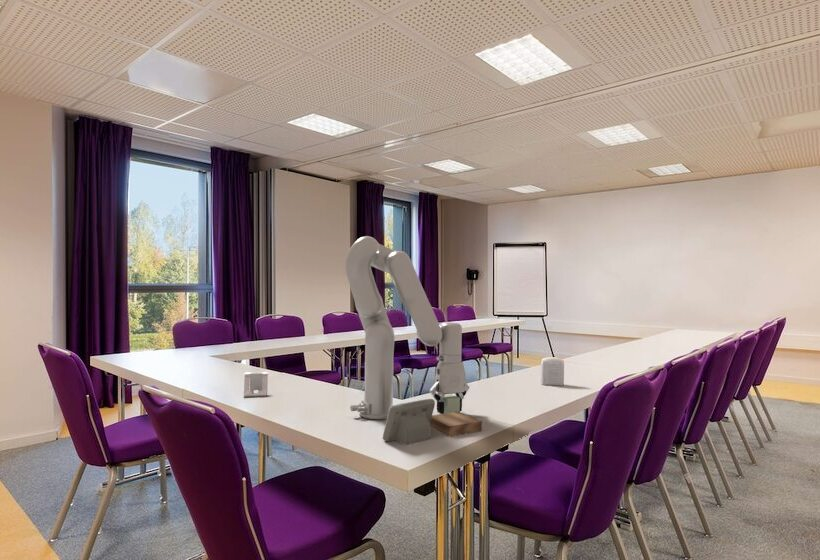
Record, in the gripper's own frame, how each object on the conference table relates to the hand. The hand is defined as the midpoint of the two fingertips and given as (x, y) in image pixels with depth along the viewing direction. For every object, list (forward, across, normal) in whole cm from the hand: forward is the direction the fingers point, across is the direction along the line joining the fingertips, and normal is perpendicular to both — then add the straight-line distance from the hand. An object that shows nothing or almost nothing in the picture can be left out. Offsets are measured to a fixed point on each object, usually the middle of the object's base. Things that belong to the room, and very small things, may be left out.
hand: (449, 411), depth 162 cm
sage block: (+1, 0, 0) cm, 1 cm away
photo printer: (+1, +70, +20) cm, 73 cm away
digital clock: (+1, -25, -16) cm, 29 cm away
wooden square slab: (+1, -8, -14) cm, 16 cm away
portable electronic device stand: (+1, -52, +57) cm, 77 cm away
